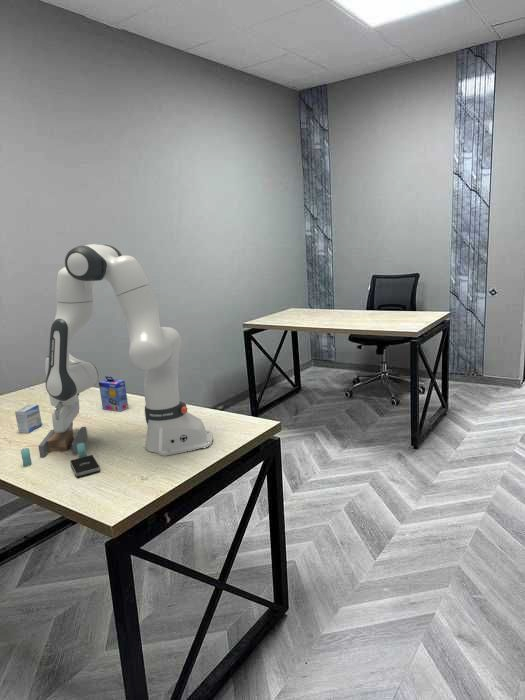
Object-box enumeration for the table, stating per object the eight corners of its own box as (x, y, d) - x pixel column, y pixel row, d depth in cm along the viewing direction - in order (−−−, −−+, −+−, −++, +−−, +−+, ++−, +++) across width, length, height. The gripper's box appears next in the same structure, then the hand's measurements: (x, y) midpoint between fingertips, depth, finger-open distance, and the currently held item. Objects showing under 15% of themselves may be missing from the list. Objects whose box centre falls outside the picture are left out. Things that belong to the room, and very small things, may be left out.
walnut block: (74, 440, 170) (72, 430, 169) (67, 450, 162) (65, 439, 161) (56, 442, 169) (55, 431, 168) (48, 452, 161) (46, 440, 160)
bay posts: (87, 456, 156) (85, 442, 155) (85, 459, 154) (83, 445, 153) (24, 463, 154) (22, 448, 153) (22, 466, 151) (19, 451, 150)
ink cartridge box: (101, 409, 201) (97, 376, 198) (111, 405, 206) (106, 372, 202) (119, 412, 196) (115, 378, 193) (129, 407, 201) (124, 374, 198)
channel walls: (87, 436, 172) (86, 426, 171) (78, 453, 159) (76, 442, 158) (52, 440, 171) (51, 429, 170) (40, 457, 157) (38, 446, 157)
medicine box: (28, 433, 179) (25, 411, 177) (18, 433, 180) (14, 411, 178) (42, 425, 186) (38, 404, 185) (32, 425, 187) (28, 404, 185)
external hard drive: (93, 460, 154) (92, 454, 154) (101, 473, 145) (100, 467, 144) (70, 466, 151) (69, 460, 150) (76, 480, 141) (76, 473, 141)
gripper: (64, 406, 158) (70, 445, 161) (80, 388, 178) (85, 423, 181) (44, 408, 157) (51, 447, 160) (62, 390, 177) (68, 425, 180)
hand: (69, 434), depth 171 cm, fingers closed
